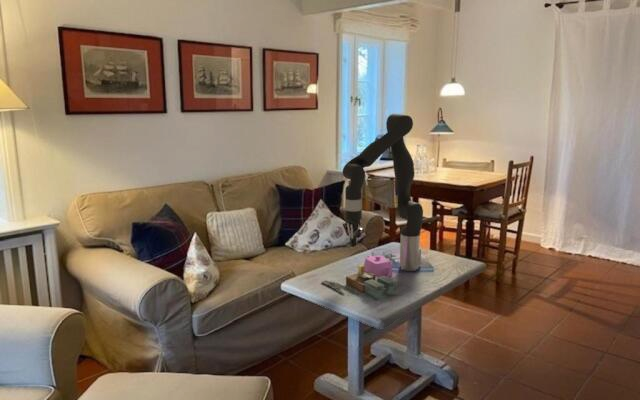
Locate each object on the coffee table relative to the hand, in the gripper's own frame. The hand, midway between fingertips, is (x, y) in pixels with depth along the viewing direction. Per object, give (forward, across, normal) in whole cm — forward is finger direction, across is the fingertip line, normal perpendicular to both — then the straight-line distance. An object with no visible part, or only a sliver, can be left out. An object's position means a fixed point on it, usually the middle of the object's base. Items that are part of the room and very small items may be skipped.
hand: (353, 245), depth 220 cm
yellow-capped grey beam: (+13, -9, 0) cm, 15 cm away
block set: (+17, -12, 0) cm, 21 cm away
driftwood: (+18, -3, +10) cm, 21 cm away
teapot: (+17, -3, -13) cm, 21 cm away
